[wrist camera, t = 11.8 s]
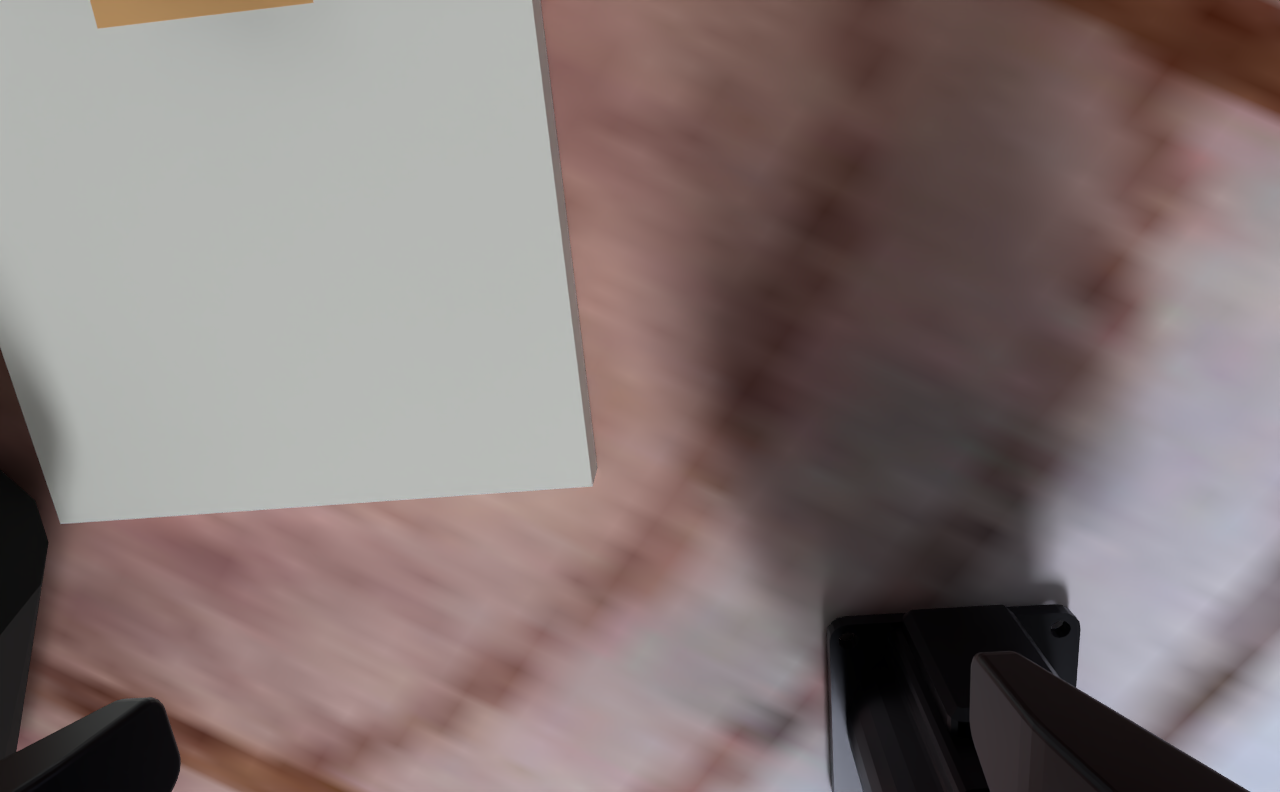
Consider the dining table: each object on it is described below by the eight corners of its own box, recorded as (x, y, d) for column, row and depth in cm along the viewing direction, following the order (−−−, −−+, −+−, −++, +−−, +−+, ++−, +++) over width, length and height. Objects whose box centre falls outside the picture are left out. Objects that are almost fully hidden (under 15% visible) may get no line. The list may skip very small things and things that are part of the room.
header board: (597, 467, 21) (580, 533, 17) (92, 504, 22) (-21, 572, 18) (460, -656, 14) (389, -916, 11) (-244, -529, 15) (-516, -728, 12)
